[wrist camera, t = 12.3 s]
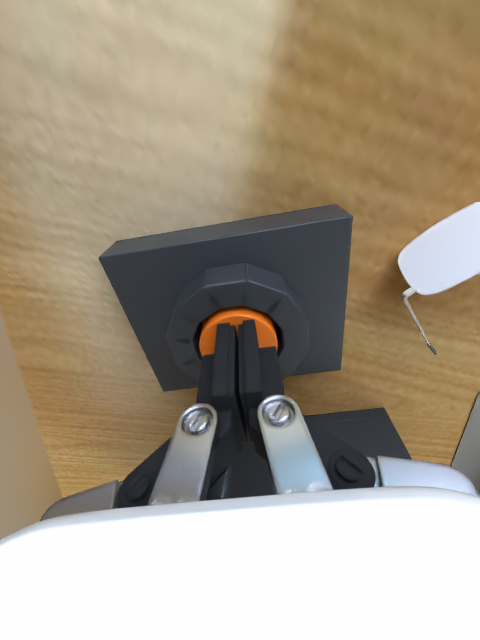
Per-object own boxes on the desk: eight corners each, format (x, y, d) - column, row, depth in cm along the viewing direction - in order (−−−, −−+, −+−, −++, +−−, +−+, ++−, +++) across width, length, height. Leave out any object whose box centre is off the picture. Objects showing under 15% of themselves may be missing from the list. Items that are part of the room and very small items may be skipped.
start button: (211, 355, 15) (209, 379, 13) (194, 300, 13) (189, 321, 11) (276, 347, 15) (280, 370, 13) (269, 289, 13) (274, 309, 11)
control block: (170, 367, 19) (156, 416, 15) (116, 241, 14) (78, 275, 10) (330, 346, 18) (351, 394, 15) (336, 203, 13) (371, 228, 9)
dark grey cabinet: (233, 492, 30) (232, 620, 22) (207, 427, 23) (193, 582, 15) (366, 480, 29) (416, 610, 21) (384, 407, 22) (469, 564, 14)
